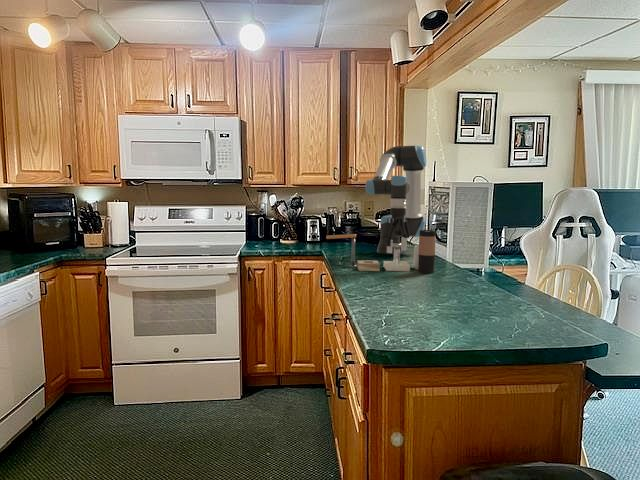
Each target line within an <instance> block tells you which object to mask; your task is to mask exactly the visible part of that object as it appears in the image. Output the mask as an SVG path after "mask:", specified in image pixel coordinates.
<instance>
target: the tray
mask: <svg viewBox="0 0 640 480" xmlns="http://www.w3.org/2000/svg"><path fill="white" fill-rule="evenodd" d="M393 261H394V260H383V263H382V264H383V269H385V271H386V272H410V271H411V267H410V266H411V265H410V264H409V263H408V262H407V261H405V260H404V261H401V260H400V265H393Z"/></svg>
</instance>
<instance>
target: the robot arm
mask: <svg viewBox="0 0 640 480" xmlns="http://www.w3.org/2000/svg"><path fill="white" fill-rule="evenodd" d="M426 166H427V153H426V148H425V147H424V146H423V145H397V146H395V145H394V146H392V147H390V148H388V149H387V150H386V151H384V152H383V153H382V154H381V156H380V158H379V164H378V168H377V169H376V172H375V174H374V176H373V178H372V179H367V180H366V181H365V192H366V194H367V195H373V196H374V195H388V196H389V195H390V204H389V205H390V207H391V208H390V209H389V210H390V211H389V214H390V215H384V216H382V217H381V218H380V238H379V239H380V240H379V242H378V246H377V249H376V253H377V254H381V255H394V247H393V243H400V244H402V247H400V255H401V254H403V252H407V249H408V247H407V246H408V239H409V238H411V237H412V238H419V234H420V230H426V229H425V228H426V221H427V218H426V217H424V214H423V213H422V212H421V210H422V209H421V205H422V204H421V203H422V202H421V201H422V200H421V199H422V198H421V197H422V196H421V195H422V193H421V192H422V188H421V187H422V186H421V185H422V172H423V171H424V167H426ZM395 167H402V170H403V171H404V173H405V175H392V176H391V173H392V171H393V169H394V168H395ZM390 176H391V179H390ZM400 237H401V238H400ZM400 239H401V240H400Z"/></svg>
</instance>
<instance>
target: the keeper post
mask: <svg viewBox="0 0 640 480" xmlns="http://www.w3.org/2000/svg"><path fill="white" fill-rule="evenodd" d="M350 252H351V258H350V261H351V262H350V264H349V265H348V267H350V268H356V267H357V264H356V237H351V251H350Z"/></svg>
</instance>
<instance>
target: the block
mask: <svg viewBox="0 0 640 480" xmlns="http://www.w3.org/2000/svg"><path fill="white" fill-rule="evenodd" d="M356 262H357V264H356V265H357V270H358V271H359V272H380V270H381V268H380V267H381V264H380V262H379V261H378V260H371V259H370V260H367V259H366V260H362V259H361V260H356Z"/></svg>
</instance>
